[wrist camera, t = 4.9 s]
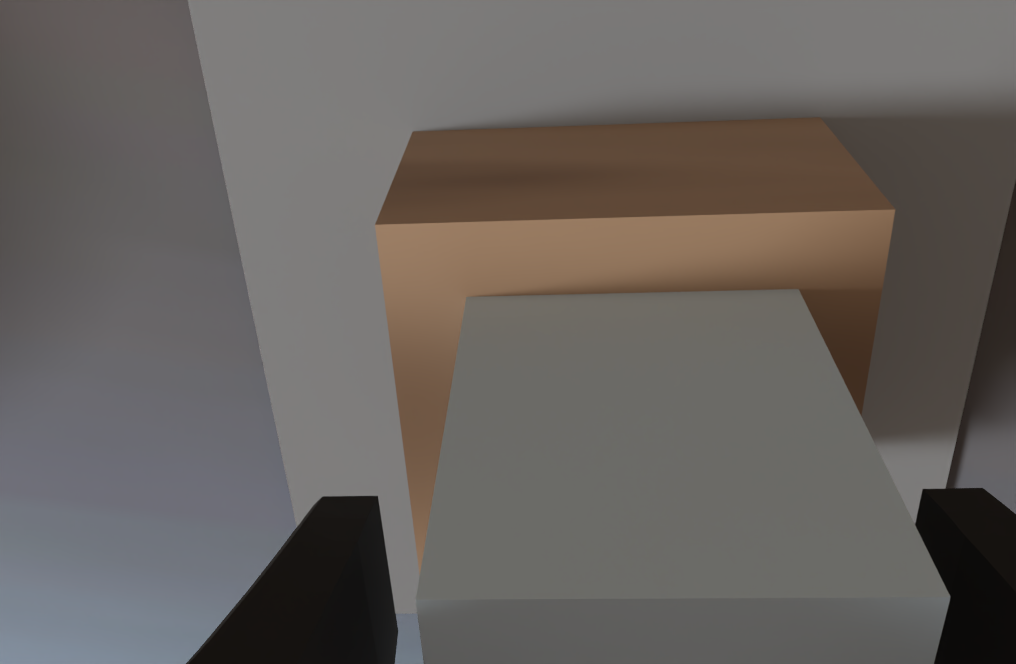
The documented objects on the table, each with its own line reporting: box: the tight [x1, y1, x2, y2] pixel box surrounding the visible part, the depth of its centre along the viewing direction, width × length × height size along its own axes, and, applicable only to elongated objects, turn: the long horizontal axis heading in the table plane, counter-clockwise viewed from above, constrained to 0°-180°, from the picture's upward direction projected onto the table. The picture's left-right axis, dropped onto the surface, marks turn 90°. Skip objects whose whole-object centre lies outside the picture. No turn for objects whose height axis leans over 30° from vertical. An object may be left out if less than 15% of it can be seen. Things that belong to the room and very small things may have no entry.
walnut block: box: [375, 117, 895, 574], centre depth 14 cm, size 6×6×4 cm
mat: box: [188, 0, 1016, 614], centre depth 16 cm, size 14×12×1 cm
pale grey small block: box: [416, 289, 951, 664], centre depth 10 cm, size 4×4×5 cm
